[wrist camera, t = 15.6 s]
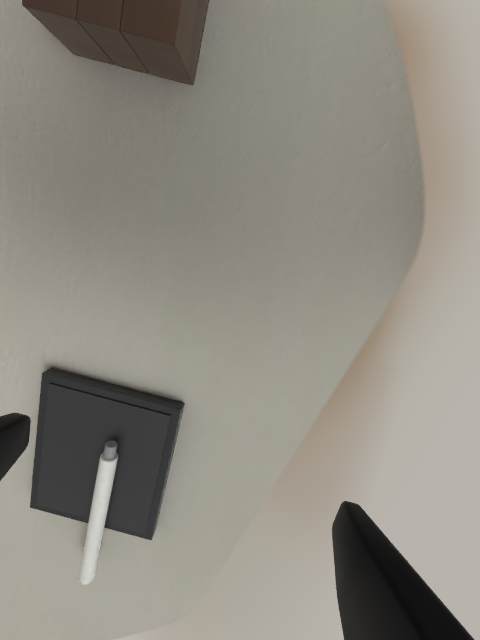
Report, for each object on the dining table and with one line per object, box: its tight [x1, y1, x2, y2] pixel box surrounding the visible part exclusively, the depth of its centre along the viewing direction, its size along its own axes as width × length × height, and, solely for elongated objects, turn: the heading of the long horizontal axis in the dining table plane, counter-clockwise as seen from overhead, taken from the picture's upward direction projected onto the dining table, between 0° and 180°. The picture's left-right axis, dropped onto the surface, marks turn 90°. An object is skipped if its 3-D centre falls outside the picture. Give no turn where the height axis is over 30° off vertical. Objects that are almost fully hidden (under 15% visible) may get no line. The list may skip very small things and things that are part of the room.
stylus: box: [79, 441, 118, 584], centre depth 24 cm, size 1×1×13 cm
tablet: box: [30, 368, 184, 540], centre depth 24 cm, size 10×12×1 cm
